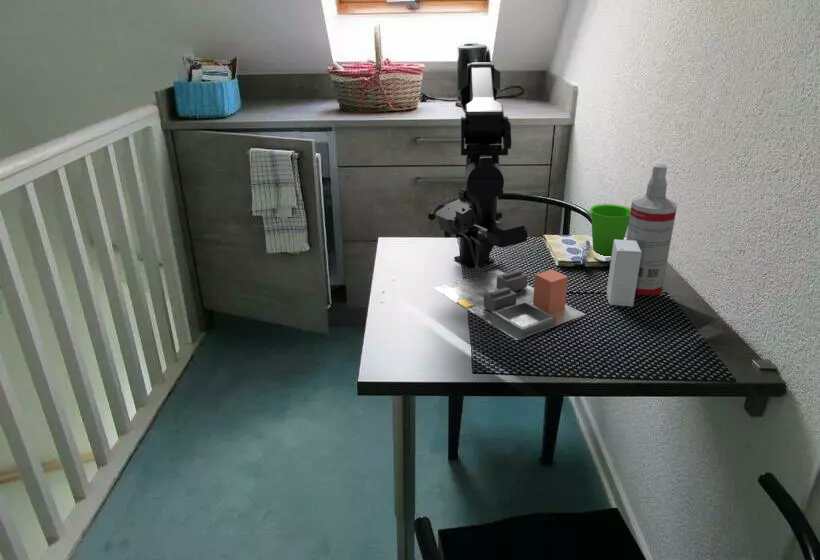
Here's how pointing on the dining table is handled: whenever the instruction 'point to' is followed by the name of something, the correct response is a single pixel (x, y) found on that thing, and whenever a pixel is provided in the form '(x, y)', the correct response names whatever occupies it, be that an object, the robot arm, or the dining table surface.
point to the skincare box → (623, 272)
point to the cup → (608, 226)
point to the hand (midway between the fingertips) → (478, 266)
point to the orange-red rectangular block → (550, 290)
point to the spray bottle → (652, 232)
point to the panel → (509, 319)
